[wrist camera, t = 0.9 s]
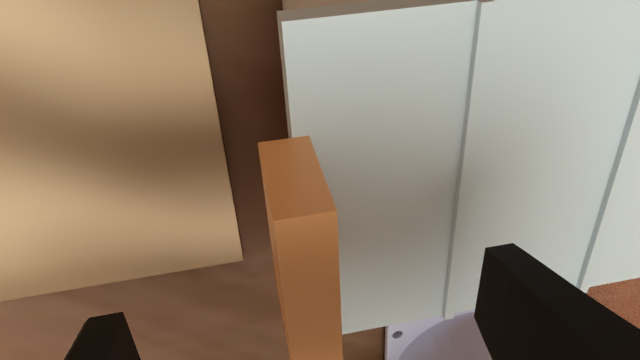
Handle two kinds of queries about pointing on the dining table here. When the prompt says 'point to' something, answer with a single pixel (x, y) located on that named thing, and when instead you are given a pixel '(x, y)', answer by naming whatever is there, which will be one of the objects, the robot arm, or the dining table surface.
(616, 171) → the lid
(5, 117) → the cork mat
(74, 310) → the dining table surface
